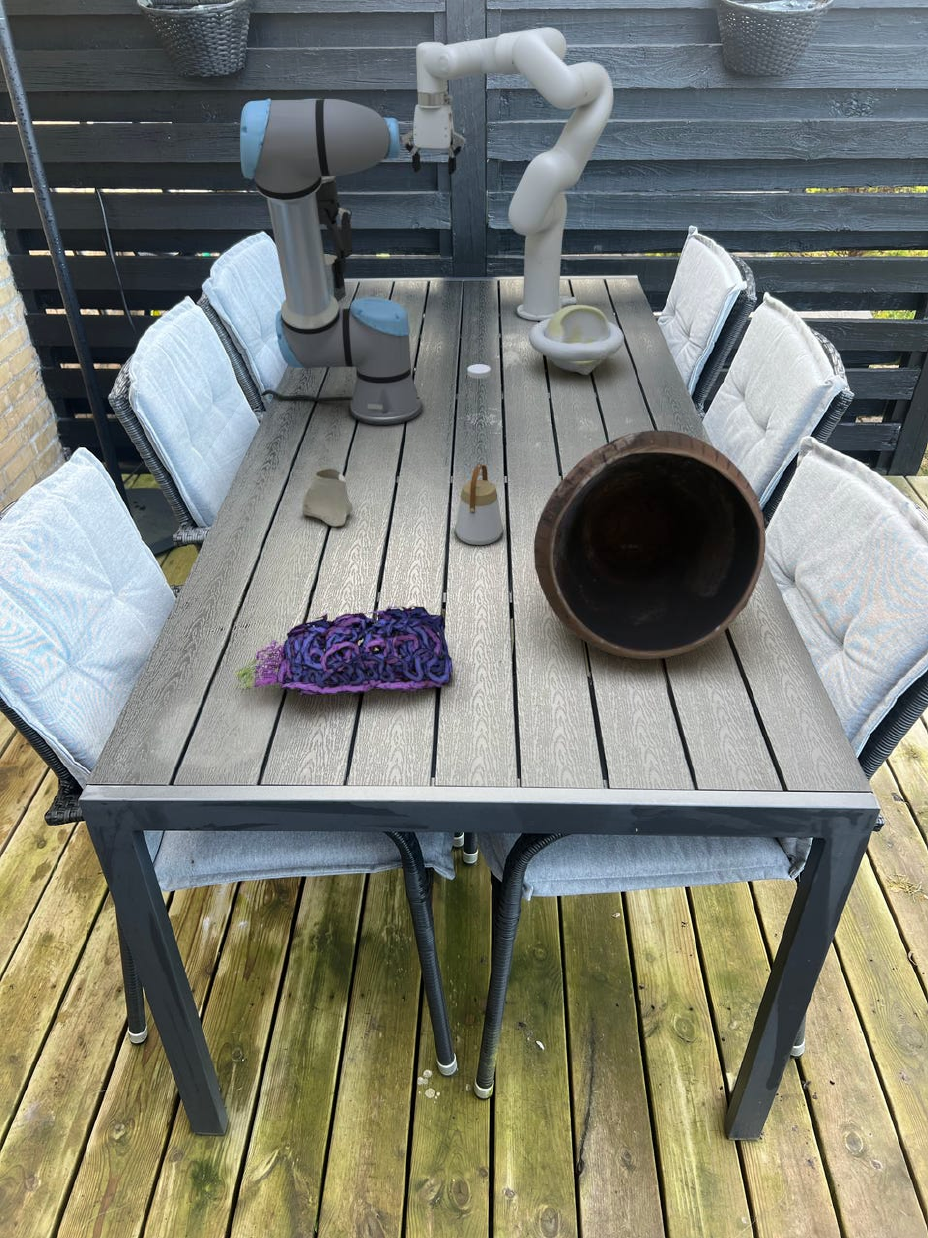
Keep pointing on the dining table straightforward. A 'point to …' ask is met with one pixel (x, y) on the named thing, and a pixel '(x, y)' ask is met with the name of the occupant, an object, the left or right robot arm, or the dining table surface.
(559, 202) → the right robot arm
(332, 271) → the brick
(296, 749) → the dining table surface
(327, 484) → the grey irregular lump
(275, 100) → the left robot arm
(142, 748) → the dining table surface
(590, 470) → the pot
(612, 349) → the hat
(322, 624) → the decorative ornament
